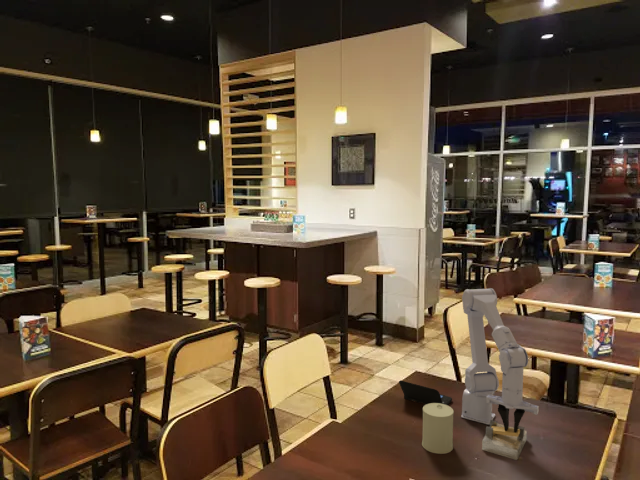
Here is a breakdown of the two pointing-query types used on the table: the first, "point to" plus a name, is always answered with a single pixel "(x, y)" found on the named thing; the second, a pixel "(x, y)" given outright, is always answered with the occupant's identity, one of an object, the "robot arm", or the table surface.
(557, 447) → the table surface
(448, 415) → the can
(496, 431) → the golden yellow flat bar
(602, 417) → the table surface
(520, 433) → the lug
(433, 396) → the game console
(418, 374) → the table surface
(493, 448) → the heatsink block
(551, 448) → the table surface
